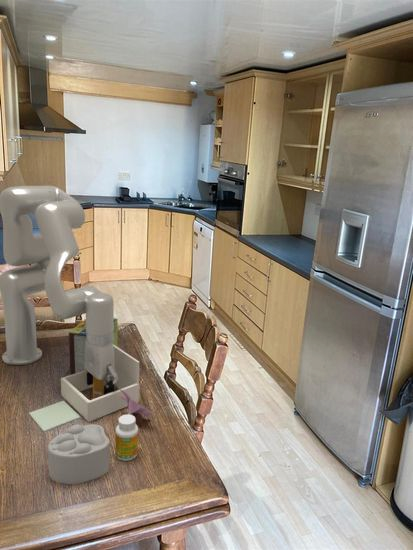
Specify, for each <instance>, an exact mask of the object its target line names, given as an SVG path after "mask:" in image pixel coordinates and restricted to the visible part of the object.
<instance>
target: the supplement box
mask: <svg viewBox="0 0 413 550" xmlns="http://www.w3.org/2000/svg"><path fill="white" fill-rule="evenodd" d="M107 375H108V373H107V374H106V376H107ZM106 379H107V381H108V378H106ZM108 382H109V381H108ZM104 386H105V385H104V382H103V379H102V380H98V379H97V378H96V377H94V376H93V387H92V400H93V399H95V398H98V397H101V396H103V395H104Z"/></svg>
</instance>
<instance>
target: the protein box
mask: <svg viewBox="0 0 413 550" xmlns="http://www.w3.org/2000/svg"><path fill="white" fill-rule="evenodd" d="M118 321H119V319H118V318H114V330H113V339H114V341H113V345H115V346H116V347H118V345H119V344H118V340H119V339H118V338H119V337H118V332H119V331H118V327H119V325H118V324H119V323H118ZM68 342H69V343H68V346H69V349H68V350H69V351H68V352H69V367H70V368H69V372H70V373H69V376H70V375H73V374H76V373H79V372H82V371H85V370H86V369H85V367H84V351H85V342H86V318H84V320H82V321H80V322H79V323H78V324H77V325H76V326H74V327H73V328H72V329H71V330H70V331H69V332H68ZM118 348H119V347H118Z"/></svg>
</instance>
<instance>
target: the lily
mask: <svg viewBox="0 0 413 550" xmlns="http://www.w3.org/2000/svg"><path fill="white" fill-rule="evenodd" d="M119 390H121V389H119ZM121 391H122V392H123V394H124V395H125V397H126V399H125V398H123V397H120V398H122V399H123V400H125V401H126V400H127V401H126V402H127V404H128V406H127V410H128V413H127V414H129V415H131V414H141V415H143V416H145V417H146V418H147V419H148V420H149V421H151V419H150V417H149V416H148V415H147V414H151V415H155V414H154V413H153V412H152V411H151V410H150V409H148V408H147V407H145V406H143V405H140V404H141V403H140V400H139V401H138V400H137V401H138V402H136V401H134V400H132V399H131V398H130V396H129V395H128V394H127V393H125V392H124V391H123V390H121ZM146 413H147V414H146Z"/></svg>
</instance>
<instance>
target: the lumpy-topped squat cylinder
mask: <svg viewBox="0 0 413 550" xmlns="http://www.w3.org/2000/svg"><path fill="white" fill-rule="evenodd" d="M110 446H111V445H110V439H109V437H108V436H107V435H106V433H105V429H104V427H103V426H102V425H100V424H96V423H95V424H92V423H91V424H86V425H82V424H79V423H78V424H73V425H71V426H70V427H68V429H66V430H64V431H62V432H61V433H59V434H57V435H56V436H55V437H54V438H52V439H51V440H50V442H49V443H48V446H47V456H48V457H47V459H48V460H47V461H48V476H49V477H50V479H51V480H52V481H54V482H56V483H59V484H63V485H65V484H67V485H77V484H83V483H85V482H89V481H92V480H95V479H98V478H101V477H103V476H104V475H106V474H107V473H108V472H109V470H110V467H111V464H110V462H111V460H110V459H111V457H110V456H111V455H110V453H111V451H110V450H111V449H110V448H111V447H110Z"/></svg>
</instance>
